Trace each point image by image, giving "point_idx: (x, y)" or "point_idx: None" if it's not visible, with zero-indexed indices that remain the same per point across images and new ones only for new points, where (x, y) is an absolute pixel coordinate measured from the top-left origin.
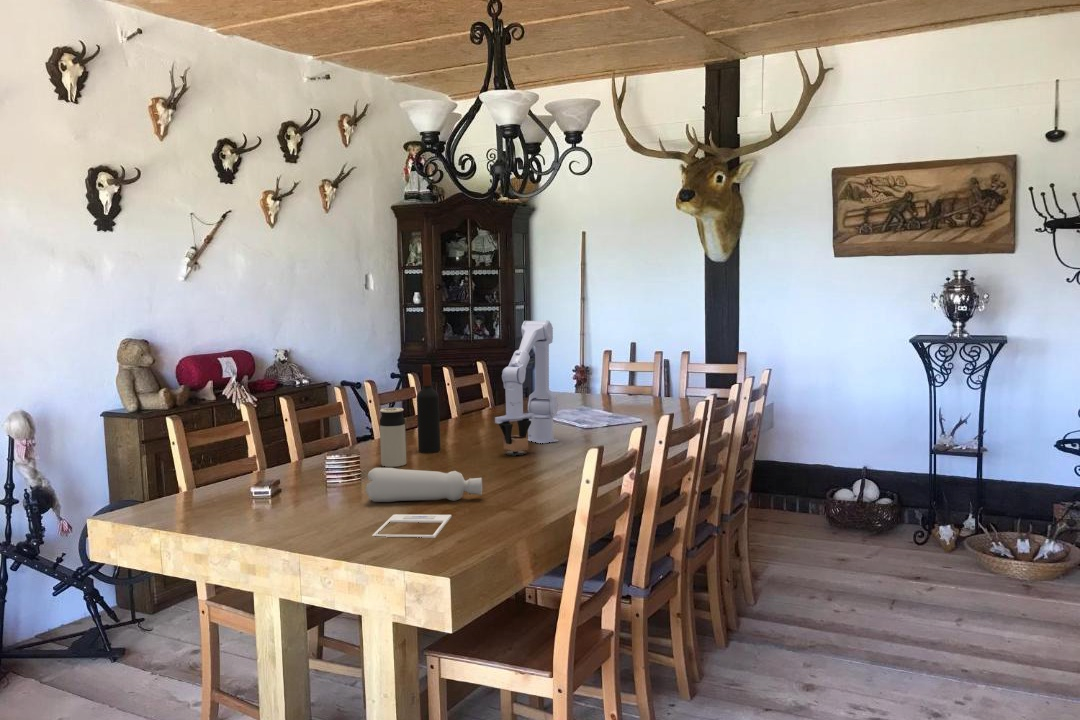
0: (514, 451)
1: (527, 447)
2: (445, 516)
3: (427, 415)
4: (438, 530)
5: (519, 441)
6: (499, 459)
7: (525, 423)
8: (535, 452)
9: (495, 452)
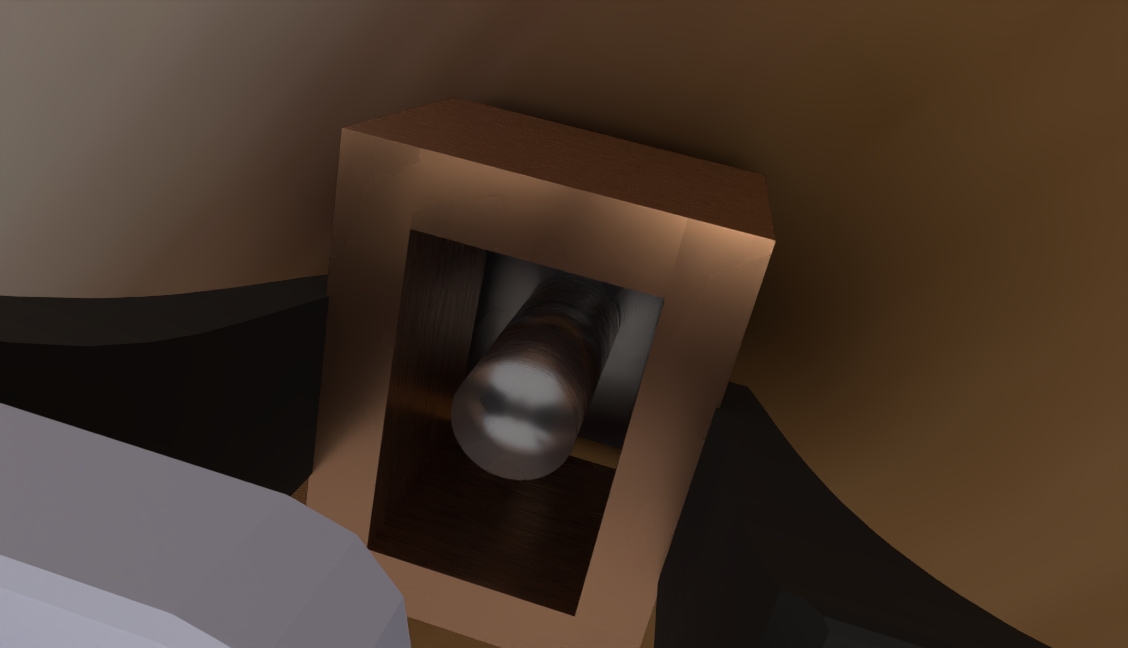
0: (616, 308)
1: (454, 103)
2: None
3: None
4: None
5: (628, 184)
6: (1111, 255)
7: (8, 383)
8: (269, 134)
9: None
